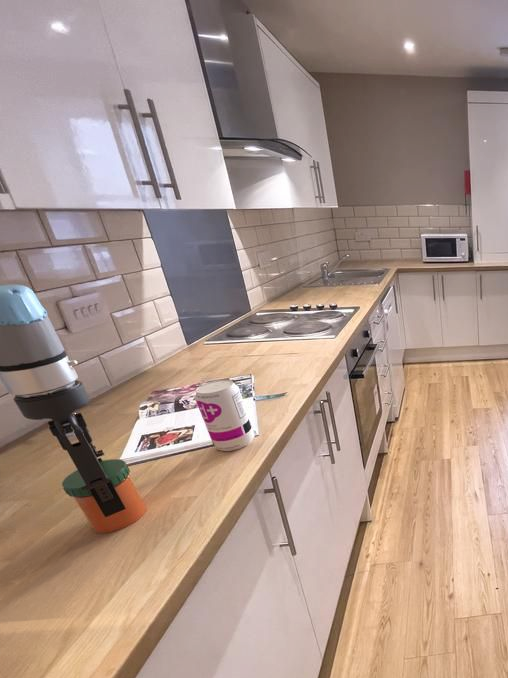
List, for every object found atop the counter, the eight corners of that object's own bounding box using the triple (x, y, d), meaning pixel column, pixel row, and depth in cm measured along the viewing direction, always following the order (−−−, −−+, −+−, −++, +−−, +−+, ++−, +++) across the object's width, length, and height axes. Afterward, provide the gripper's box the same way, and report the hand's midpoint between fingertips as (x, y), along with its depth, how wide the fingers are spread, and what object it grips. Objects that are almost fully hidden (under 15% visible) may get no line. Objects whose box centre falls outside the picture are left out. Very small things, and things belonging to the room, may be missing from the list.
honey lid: (141, 466, 75) (137, 458, 75) (104, 496, 68) (99, 487, 67) (94, 468, 75) (90, 460, 74) (52, 498, 67) (46, 489, 67)
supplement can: (233, 455, 92) (211, 396, 86) (206, 449, 95) (183, 391, 88) (263, 436, 99) (244, 381, 93) (237, 431, 102) (218, 376, 95)
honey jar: (81, 534, 72) (54, 491, 67) (115, 505, 78) (92, 464, 74) (126, 531, 72) (101, 488, 68) (155, 502, 79) (135, 462, 74)
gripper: (89, 398, 60) (150, 516, 70) (72, 363, 72) (126, 468, 82) (13, 418, 55) (90, 542, 65) (9, 377, 67) (75, 486, 77)
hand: (110, 500), depth 73 cm, fingers closed on honey lid, 8 cm apart
